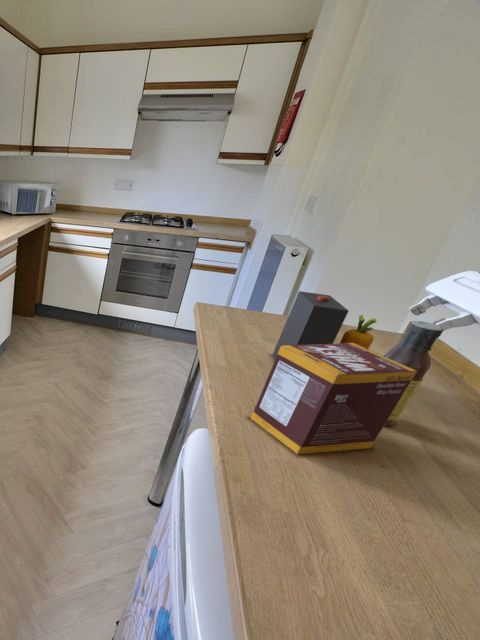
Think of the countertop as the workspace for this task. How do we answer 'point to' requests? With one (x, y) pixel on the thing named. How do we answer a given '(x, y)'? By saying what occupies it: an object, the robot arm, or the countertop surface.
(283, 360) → the supplement box
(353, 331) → the carrot
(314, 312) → the box with red knob
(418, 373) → the sauce bottle
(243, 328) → the countertop surface
